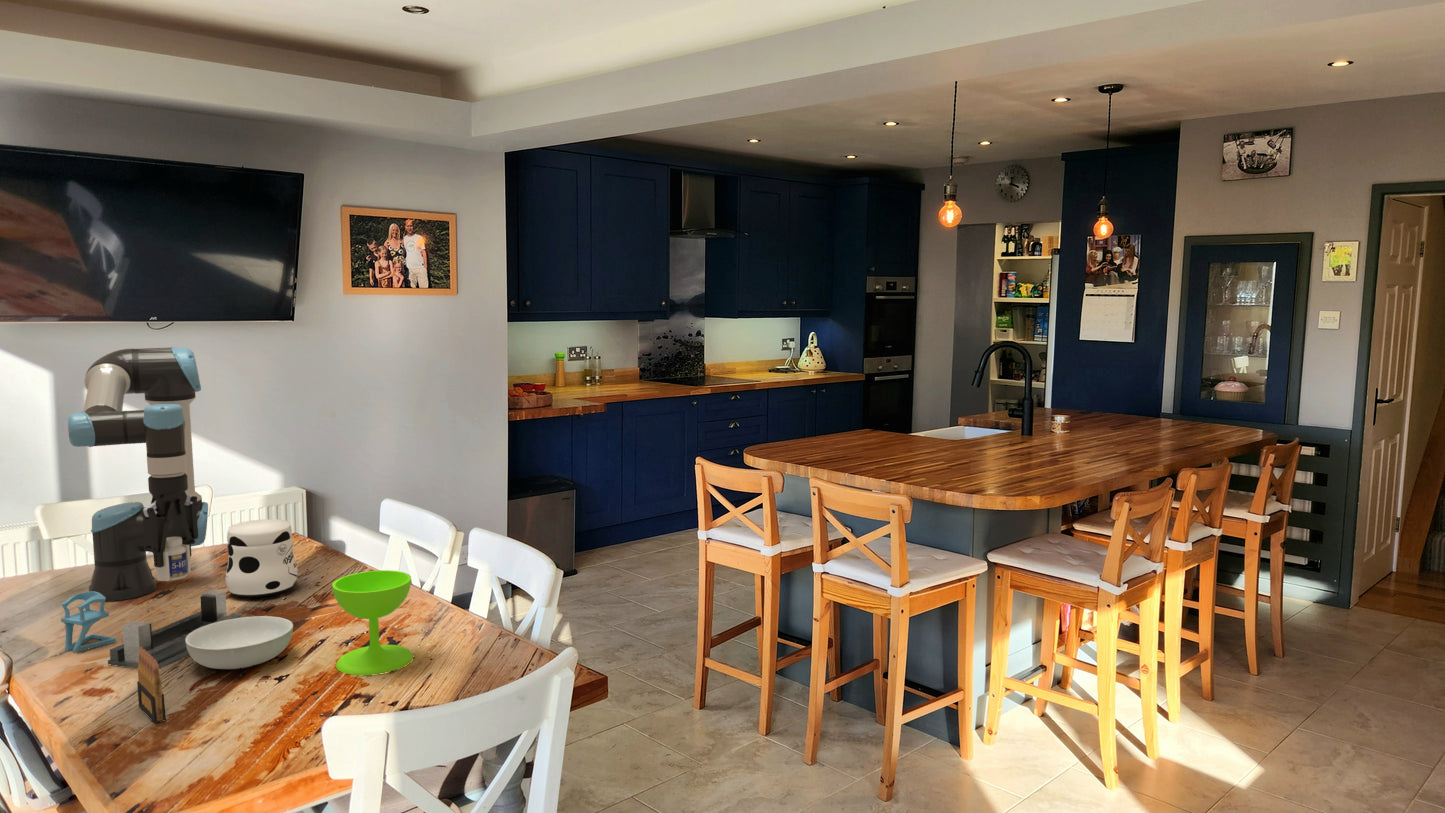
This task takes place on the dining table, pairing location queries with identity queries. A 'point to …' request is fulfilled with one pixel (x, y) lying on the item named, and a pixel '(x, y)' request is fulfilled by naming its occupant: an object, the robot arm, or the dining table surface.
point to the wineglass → (373, 618)
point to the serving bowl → (239, 641)
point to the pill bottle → (176, 558)
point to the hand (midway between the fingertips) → (174, 576)
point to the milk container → (260, 558)
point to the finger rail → (168, 633)
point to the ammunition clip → (150, 687)
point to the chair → (85, 621)
